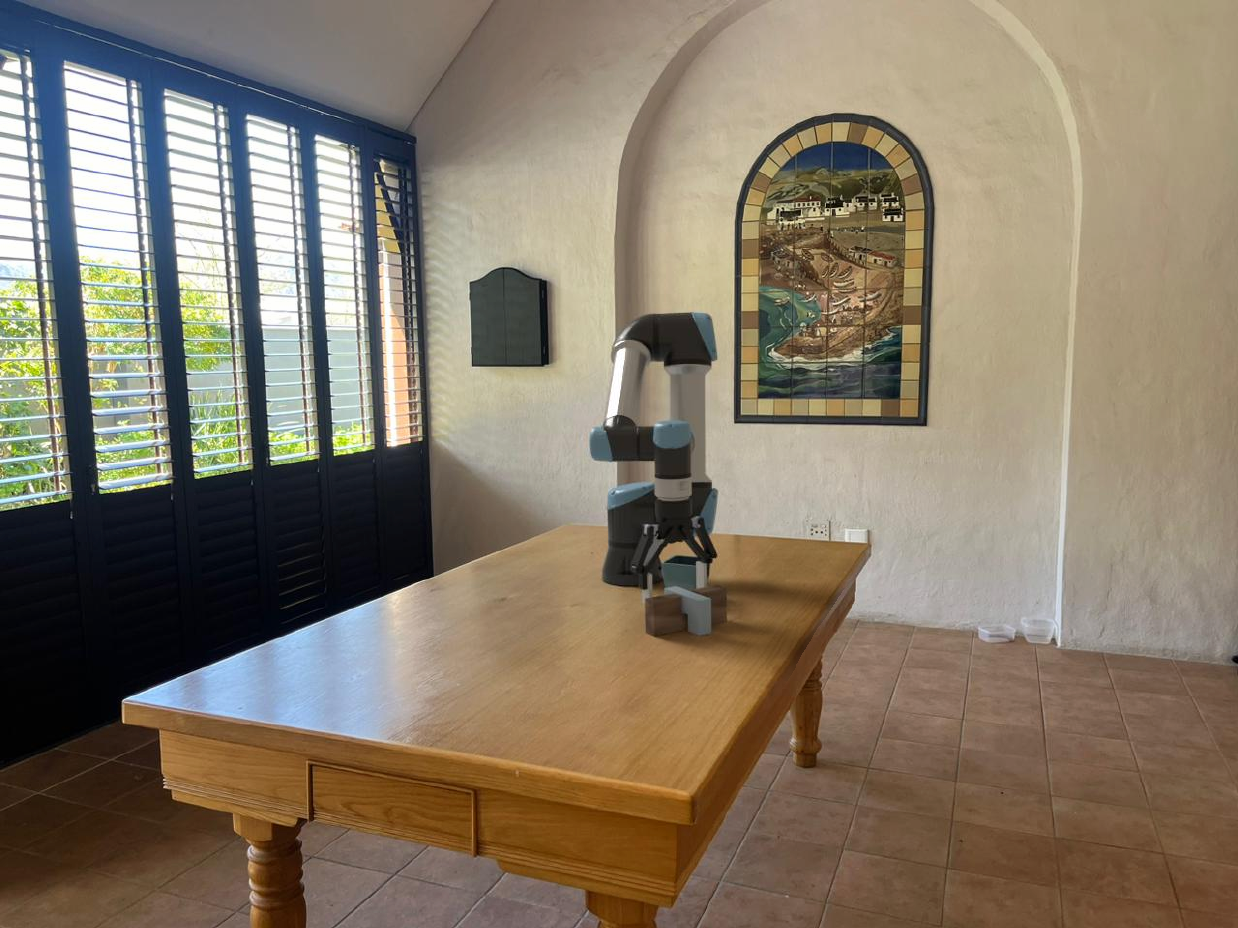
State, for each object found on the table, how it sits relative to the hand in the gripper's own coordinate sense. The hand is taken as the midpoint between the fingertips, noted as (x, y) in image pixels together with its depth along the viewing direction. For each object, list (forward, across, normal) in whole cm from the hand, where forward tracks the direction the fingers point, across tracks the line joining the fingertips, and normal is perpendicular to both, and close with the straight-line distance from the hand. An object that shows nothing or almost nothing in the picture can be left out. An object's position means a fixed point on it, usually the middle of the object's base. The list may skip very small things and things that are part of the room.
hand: (675, 598), depth 194 cm
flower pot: (+5, +12, +12) cm, 18 cm away
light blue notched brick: (+5, 0, -5) cm, 7 cm away
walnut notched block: (+5, 0, -5) cm, 7 cm away
